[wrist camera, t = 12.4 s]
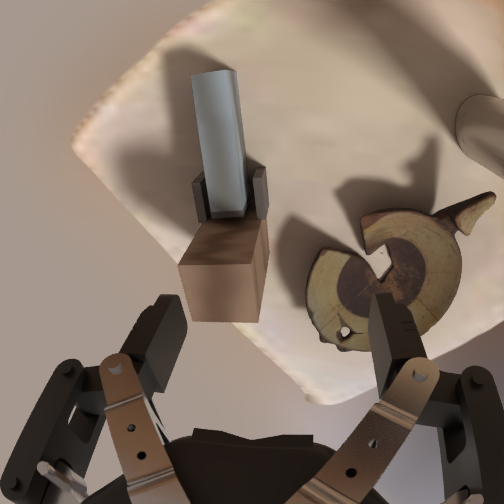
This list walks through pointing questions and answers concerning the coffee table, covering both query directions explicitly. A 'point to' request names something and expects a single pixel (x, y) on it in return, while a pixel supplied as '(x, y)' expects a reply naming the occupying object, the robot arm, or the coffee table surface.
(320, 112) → the coffee table surface
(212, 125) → the gray rectangular block
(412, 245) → the cracked wood slice
